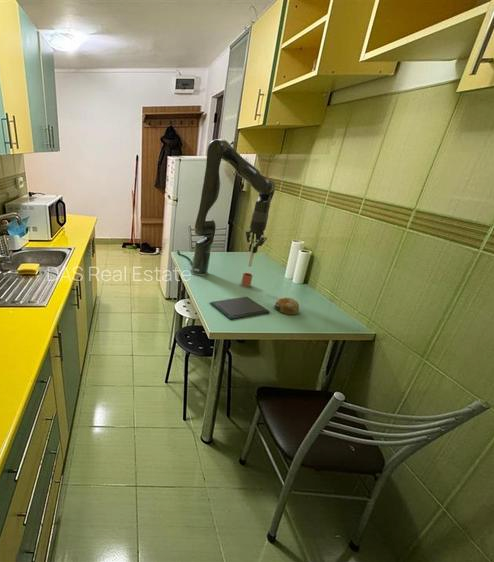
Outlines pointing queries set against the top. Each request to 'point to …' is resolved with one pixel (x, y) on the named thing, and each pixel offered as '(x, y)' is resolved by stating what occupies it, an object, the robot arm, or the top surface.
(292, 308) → the bread roll
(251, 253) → the stylus
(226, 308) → the plate
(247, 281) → the pen pot
